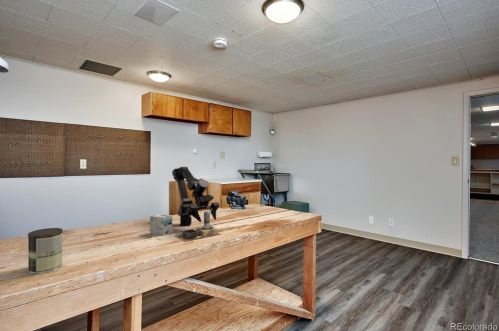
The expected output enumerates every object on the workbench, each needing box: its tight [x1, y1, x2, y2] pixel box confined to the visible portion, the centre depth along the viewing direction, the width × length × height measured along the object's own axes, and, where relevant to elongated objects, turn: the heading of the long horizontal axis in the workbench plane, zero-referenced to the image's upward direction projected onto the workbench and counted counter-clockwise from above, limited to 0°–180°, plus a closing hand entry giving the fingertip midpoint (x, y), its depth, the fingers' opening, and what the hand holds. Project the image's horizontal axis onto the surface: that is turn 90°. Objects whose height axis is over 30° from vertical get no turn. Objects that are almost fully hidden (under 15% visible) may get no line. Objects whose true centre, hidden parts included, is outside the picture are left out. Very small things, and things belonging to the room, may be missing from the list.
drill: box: [203, 211, 211, 230], centre depth 141 cm, size 3×3×12 cm
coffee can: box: [27, 227, 64, 275], centre depth 97 cm, size 10×10×14 cm
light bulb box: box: [149, 213, 173, 236], centre depth 142 cm, size 11×7×11 cm, turn 65°
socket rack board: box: [174, 225, 223, 243], centre depth 138 cm, size 22×12×4 cm, turn 130°
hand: (208, 220), depth 140 cm, fingers open, 9 cm apart
